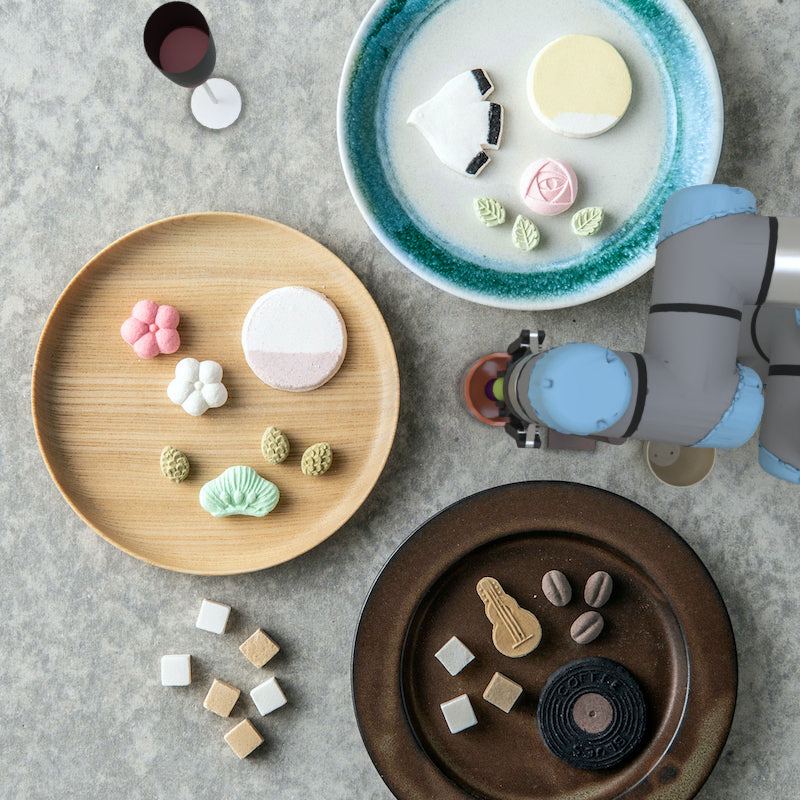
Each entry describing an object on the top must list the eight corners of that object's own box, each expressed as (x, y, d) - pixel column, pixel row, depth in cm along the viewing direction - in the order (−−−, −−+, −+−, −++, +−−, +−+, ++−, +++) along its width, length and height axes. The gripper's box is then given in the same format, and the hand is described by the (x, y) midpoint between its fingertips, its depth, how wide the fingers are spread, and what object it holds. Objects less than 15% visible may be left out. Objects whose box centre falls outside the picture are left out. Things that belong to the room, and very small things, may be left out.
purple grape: (505, 378, 107) (510, 378, 104) (504, 401, 107) (509, 402, 104) (483, 377, 107) (487, 377, 104) (482, 400, 107) (486, 401, 104)
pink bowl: (528, 357, 108) (539, 354, 100) (525, 424, 108) (536, 427, 100) (460, 354, 108) (466, 351, 100) (458, 422, 108) (463, 424, 100)
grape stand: (595, 403, 108) (647, 406, 86) (593, 449, 108) (645, 464, 86) (549, 401, 108) (589, 404, 86) (547, 448, 108) (587, 462, 86)
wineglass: (248, 81, 107) (216, 9, 87) (235, 138, 107) (200, 79, 87) (196, 68, 106) (152, -7, 86) (183, 125, 106) (136, 64, 86)
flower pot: (687, 487, 108) (709, 494, 101) (623, 474, 108) (640, 480, 101) (701, 423, 108) (723, 425, 101) (637, 410, 108) (654, 411, 101)
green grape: (516, 376, 96) (521, 376, 92) (515, 402, 96) (520, 403, 92) (491, 375, 95) (495, 375, 92) (490, 401, 96) (494, 402, 92)
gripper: (578, 471, 72) (531, 451, 95) (585, 309, 72) (536, 329, 95) (504, 468, 72) (475, 449, 95) (511, 306, 72) (480, 326, 95)
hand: (506, 389), depth 95 cm, fingers closed on green grape, 3 cm apart
